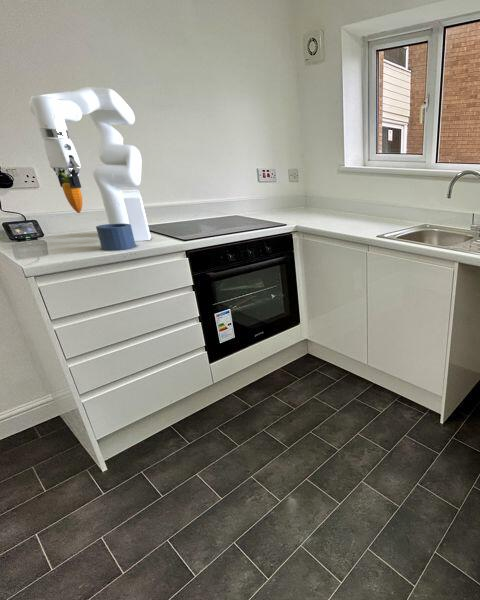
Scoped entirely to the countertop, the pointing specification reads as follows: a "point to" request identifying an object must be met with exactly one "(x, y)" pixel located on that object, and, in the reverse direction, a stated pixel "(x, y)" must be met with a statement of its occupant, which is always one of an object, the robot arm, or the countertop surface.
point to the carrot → (72, 194)
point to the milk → (136, 215)
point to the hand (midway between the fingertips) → (71, 186)
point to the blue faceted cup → (116, 236)
